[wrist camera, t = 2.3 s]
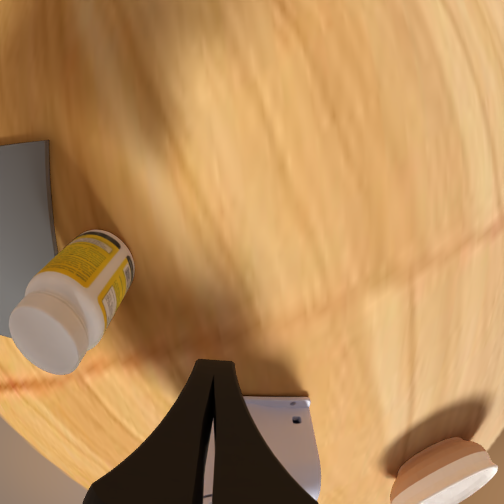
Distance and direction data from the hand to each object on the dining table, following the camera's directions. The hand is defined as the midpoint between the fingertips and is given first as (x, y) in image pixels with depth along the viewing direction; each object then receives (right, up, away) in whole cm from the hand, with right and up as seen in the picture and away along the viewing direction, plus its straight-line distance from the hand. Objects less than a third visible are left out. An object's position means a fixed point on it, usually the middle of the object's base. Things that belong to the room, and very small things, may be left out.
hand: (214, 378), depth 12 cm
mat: (-16, +5, +7) cm, 18 cm away
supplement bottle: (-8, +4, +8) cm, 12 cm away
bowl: (+27, -25, +22) cm, 43 cm away
